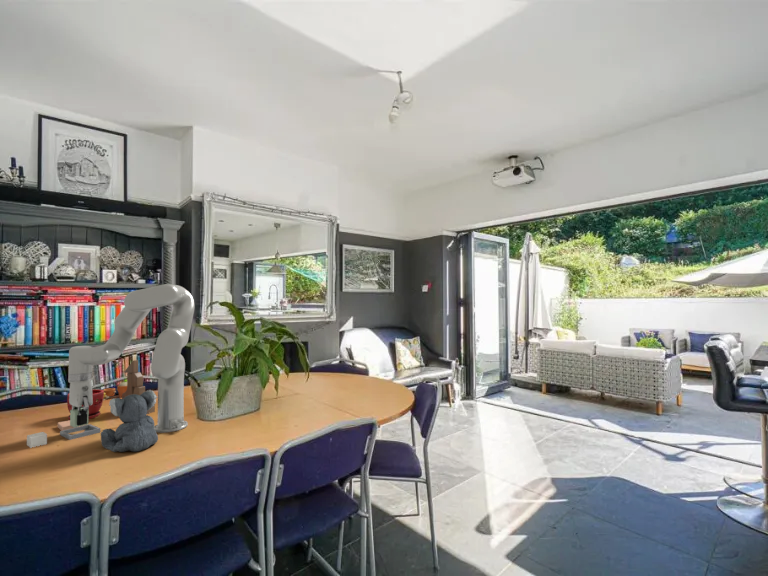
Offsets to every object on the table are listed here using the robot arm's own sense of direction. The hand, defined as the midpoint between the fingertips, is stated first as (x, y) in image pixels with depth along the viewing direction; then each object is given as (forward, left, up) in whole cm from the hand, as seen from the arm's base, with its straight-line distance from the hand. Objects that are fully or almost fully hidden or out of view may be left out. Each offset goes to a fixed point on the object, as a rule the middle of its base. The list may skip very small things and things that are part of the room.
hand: (79, 422), depth 152 cm
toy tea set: (+57, -33, -5) cm, 66 cm away
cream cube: (-1, +13, -5) cm, 14 cm away
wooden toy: (+13, -27, -5) cm, 31 cm away
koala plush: (-31, -6, -5) cm, 32 cm away
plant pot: (+24, -10, -5) cm, 26 cm away
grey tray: (0, 0, -5) cm, 5 cm away
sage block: (0, 0, -1) cm, 1 cm away
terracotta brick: (+12, 0, -5) cm, 13 cm away
